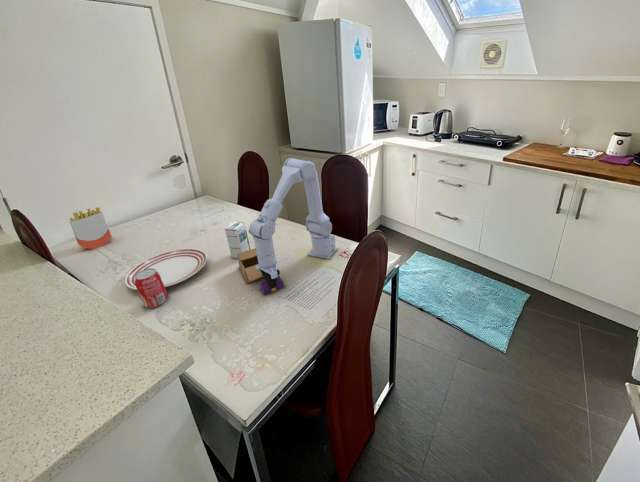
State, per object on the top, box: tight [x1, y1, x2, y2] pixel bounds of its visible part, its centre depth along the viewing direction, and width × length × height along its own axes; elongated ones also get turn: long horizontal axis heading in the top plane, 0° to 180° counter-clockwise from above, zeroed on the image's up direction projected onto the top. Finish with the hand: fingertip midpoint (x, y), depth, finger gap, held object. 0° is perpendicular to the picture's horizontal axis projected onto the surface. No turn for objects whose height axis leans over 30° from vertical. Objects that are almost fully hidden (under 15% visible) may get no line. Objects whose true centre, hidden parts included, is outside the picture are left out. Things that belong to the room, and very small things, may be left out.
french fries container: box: [69, 206, 112, 250], centre depth 138 cm, size 5×11×18 cm, turn 148°
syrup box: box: [224, 221, 251, 259], centre depth 130 cm, size 6×6×14 cm
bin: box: [236, 247, 264, 284], centre depth 121 cm, size 12×10×7 cm
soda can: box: [135, 268, 168, 308], centre depth 104 cm, size 7×7×12 cm
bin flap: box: [245, 264, 264, 283], centre depth 114 cm, size 6×10×1 cm, turn 126°
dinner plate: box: [124, 247, 208, 291], centre depth 121 cm, size 27×27×3 cm
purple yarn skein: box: [259, 275, 284, 295], centre depth 112 cm, size 7×4×3 cm, turn 125°
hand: (271, 284), depth 112 cm, fingers closed on purple yarn skein, 3 cm apart
